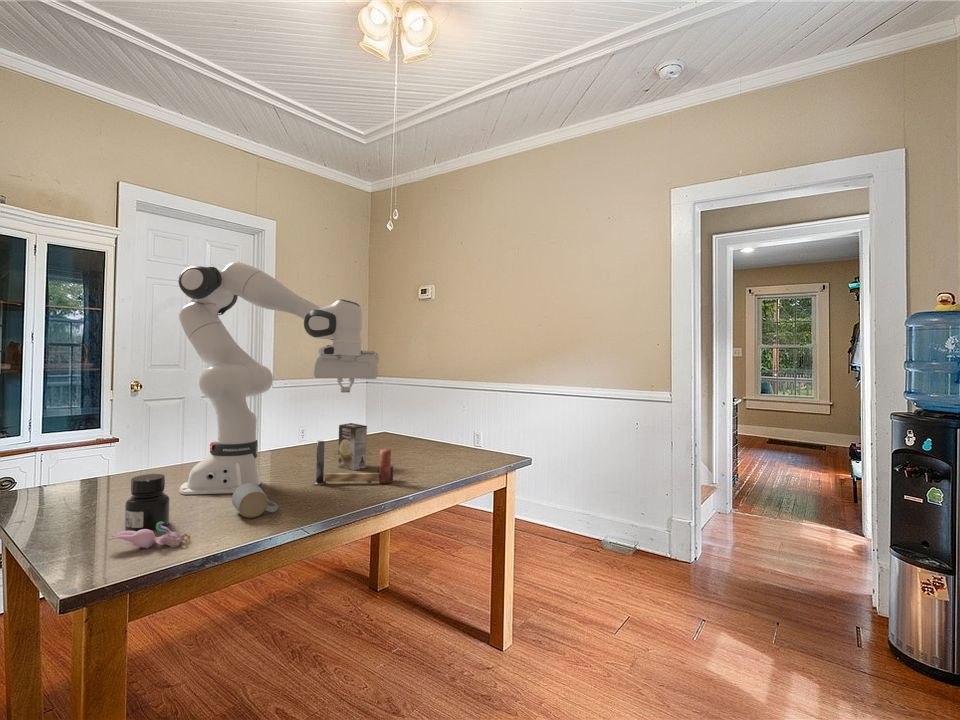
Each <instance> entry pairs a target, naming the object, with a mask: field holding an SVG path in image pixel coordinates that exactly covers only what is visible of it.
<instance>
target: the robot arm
mask: <svg viewBox="0 0 960 720" xmlns="http://www.w3.org/2000/svg"><path fill="white" fill-rule="evenodd" d="M177 282H178V286H179V289H180V290H181V291H182V292H183V293H184V295H186V297H188V298H190V299H191V300H190V302H189V303H187V304H186V305H184V306H183V307H182V308H181V309H180V311H179V313H178V318H179V321H180V323H181V327H182V329H183V331H184V333H185V335H186V337H187V339H188V340H189V342H190V343H191V345H192V347H193V348H194V349H195V352H196V353H197V355H198V356H199V357H200V360H202V362H205V363H206V364H207V365H210V367H208V368H206V369H204V370H203V371H202V372H201V374H200V376H199V381H198V386H199V389H200V391H201V393H202V394H203V395H204V396H205V397H206V398H207V399H208V400H210V402H211V404H212V407H213V408H214V410H215V414H216V421H217V441H215V440H213V441H212V442H210V444H209V453H210V454H209V455H207V456H206V457H205V458H204V459H202V460H201V461H198V463H196V464H195V465H194V466H193V467H192V469H191V470H190V472H189V474H188V480H187V481H185V482H183V483H182V484H181V485H180V487H179V493H180V494H181V495H208V494H209V495H210V494H211V495H212V494H213V495H214V494H233V493H234V492H235V490H236V489H237V488H238V487H239V486H241V485H243V484H246V483H254V484H256V485H258V486H259V485H261V484H262V482H261V478H260V475H259V471H258V461H257V458H258V455H259V453H258V452H259V443H258V439H257V422H258V421H257V420H258V419H257V416H256V414H255V413H254V412H253V411H251V410H250V408H249V406H248V403H247V398H250V397H257V396H259V395H261V394H264V393H266V392H268V391H269V390H270V388H272V385H273V383H274V381H273V380H274V378H273V374H272V371H271V370H270V368H268V367H267V366H265V365H263V364H261V363H259V362H258V361H257V360H255V359H254V358H252V356H251V355H249V354H248V353H247V352H246V351H245V350H244V349H243V348H241V346H240V345H239V344H238V343H237V342H236V341H235V339H234V338H233V336H232V334H230V332H229V331H228V329H227V328H226V326H225V324H223V321H222V320H221V319H220V317H219V316H222V315H224V314H225V313H226V312H227V311H229V310H230V309H232V307H234V306H235V304H236V303H237V302H238V297H239V298H241V299H243V300H245V301H246V302H248V303H250V304H252V305H254V306H257V307H260V308H262V309H266V310H272V311H277V312H283V313H288V314H291V315H294V316H296V317H299V318H300V319H302V320H303V328H304V330H305V332H306V333H307V335H309V336H310V337H313V338H315V339H320V340H321V339H323V340H331V341H333V342H332V344H328V345H326V346H321V347H319V348H318V351H317V352H318V355H317V356H316V357H315V360H314V365H313V371H312V372H313V373H312V375H313V377H315V379H337V381H336V382H337V383H338V385H339V387H340V393H351V388H352V386H353V385H354V383H355V379H356V380H358V379H361V380H362V379H363V380H364V379H365V380H376V379H377V378H378V375H379V374H378V373H379V371H378V370H379V369H378V364H379V362H380V355H379V354H378V353H377V352H375V351H374V350H362V338H361V332H362V328H363V314H362V313H363V312H362V307H361V305H360V304H359V303H357V302H355V301H351V300H347V299H342V298H341V299H337V300H335V302H333V303H331V304H329V305H326V306H324V307H320V306H318V305H316V304H314V303H312V302H311V301H308V300H306V299H305V298H303V297H301V296H299V295H298V294H297V293H295V292H293V291H292V290H290V289H289V288H288V287H287V286H285V285H284V284H282V283H281V282H280V281H278V280H277V279H276V278H274V277H273V276H272V275H269V274H268V273H266V272H265V271H263V270H260V269H259V268H257V267H254V266H252V265H250V264H246V263H244V262H240V261H234V262H233V261H232V262H230V263H229V264H227V265H226V266H225V268H223V270H219V269H218V268H217V267H215V266H201V265H200V266H199V265H191V266H189V267H186V268H185V269H184V270H183V271H181V272H180V274H179V277H178V281H177ZM343 379H348V382H349V383H348V384H347V386H344V385H343V384H342V382H343Z"/></svg>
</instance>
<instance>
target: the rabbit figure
mask: <svg viewBox="0 0 960 720" xmlns="http://www.w3.org/2000/svg"><path fill="white" fill-rule="evenodd" d="M163 523H165V522H158V523H157V524H156V529H155V530H156V531H158V532H159V533H165V534H162V535H161V536H156V535H155V532H154V531H153V530H148V529H142V530H139V531H137V532H136V531H128V530H123V531H122V530H121V531H120V532H118V533H115V534H114V535H112V536H111V537H110V538H108V540H109V541H110V540H111V541H112V540H115V539H118V540H119V539H120V540H124V541H128V542H131V543H132V544H133V545H134V546H135V547H139V548H143V549H149V548H150V547H152V546H153V544H154V543H156V544H158V545H160V546H163V545H167V546H169V547H171V548H177V547H179V546H180V545H181V543H182V542H183V541H184V543H185V544H184V545H185V547H187V545H188V543H189V542H190V540H191V533H190V534H189V535H188V534H187V533H184V534H179V533H178V531H177V532H175V531H171V530H170V529H169V528H168V527H166V526H162V524H163ZM185 537H187V538H185ZM188 541H189V542H188ZM176 546H177V547H176ZM148 547H149V548H148Z"/></svg>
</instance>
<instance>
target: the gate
mask: <svg viewBox="0 0 960 720" xmlns="http://www.w3.org/2000/svg"><path fill="white" fill-rule="evenodd" d="M391 453H392V450H391V449H380V450H379V465H380V469H379V473H378V472H362V473H361V472H357V473H355V472H352V473H351V472H350V473H349V472H348V473H347V472H345V473H342V472H341V473H338V472H337V473H335V472H334V473H332V472H331V473H325V472H324V482H326V483H328V482H329V483H330V482H332V483H333V482H334V483H336V482H337V483H338V482H343V483H344V482H366V483H368V484H370V483H372V482H378V481H379V483H380V484H389V483H391V482H390V466H391V465H392V463H391V461H392V459H391V458H392V454H391Z"/></svg>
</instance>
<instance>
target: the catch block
mask: <svg viewBox="0 0 960 720" xmlns="http://www.w3.org/2000/svg"><path fill="white" fill-rule="evenodd" d="M379 469H380V464H378V466H377V473H379ZM390 481H394V465H393V464H391V466H390Z"/></svg>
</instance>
